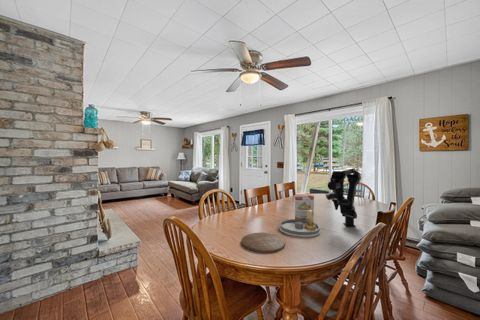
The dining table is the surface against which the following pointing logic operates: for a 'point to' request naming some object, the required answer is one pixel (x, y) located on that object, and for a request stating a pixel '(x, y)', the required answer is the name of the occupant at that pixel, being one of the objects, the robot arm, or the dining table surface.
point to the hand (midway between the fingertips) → (338, 211)
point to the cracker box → (303, 206)
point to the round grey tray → (298, 228)
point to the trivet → (263, 242)
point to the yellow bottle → (310, 220)
